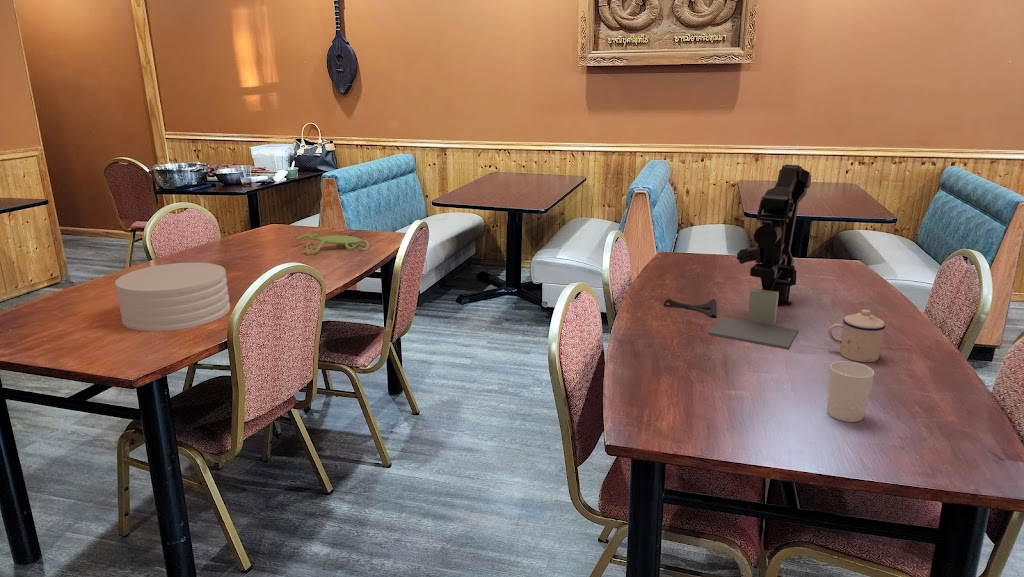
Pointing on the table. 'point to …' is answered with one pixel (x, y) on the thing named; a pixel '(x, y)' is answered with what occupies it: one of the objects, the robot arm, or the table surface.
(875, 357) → the teacup with lid
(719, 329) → the mat
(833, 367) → the white cup
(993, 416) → the table surface
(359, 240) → the figurine
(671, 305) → the bracket
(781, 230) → the robot arm
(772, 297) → the tile
